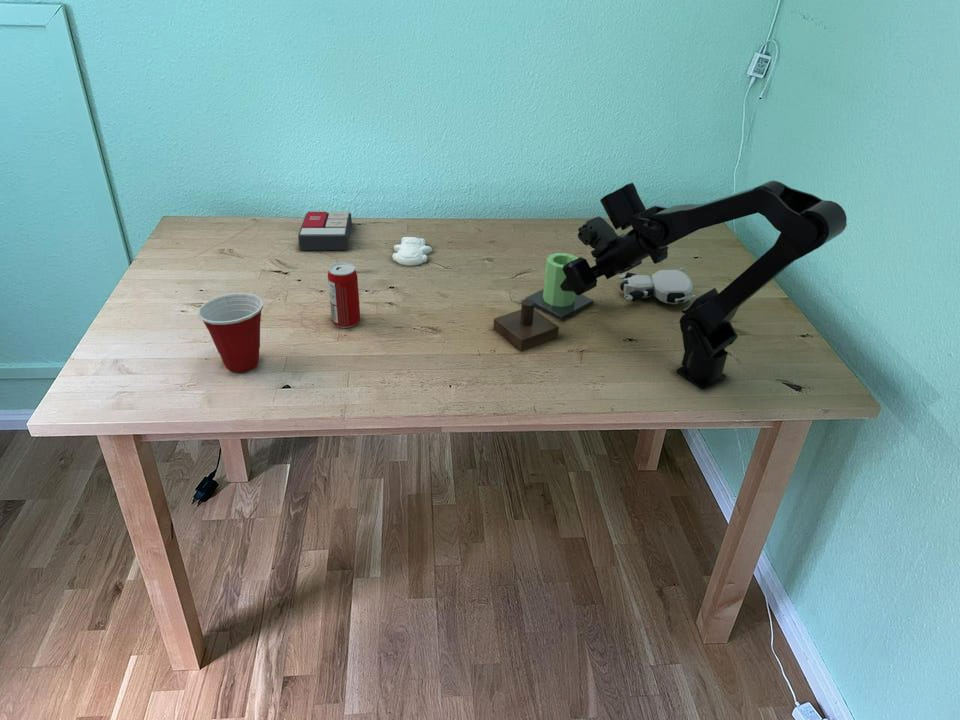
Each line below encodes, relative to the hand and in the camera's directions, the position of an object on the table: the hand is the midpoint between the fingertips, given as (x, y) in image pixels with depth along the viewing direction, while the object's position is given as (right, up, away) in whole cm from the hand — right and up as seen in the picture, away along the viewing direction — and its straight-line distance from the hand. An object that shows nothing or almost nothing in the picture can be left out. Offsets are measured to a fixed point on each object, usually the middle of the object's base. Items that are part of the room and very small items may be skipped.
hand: (576, 280), depth 142 cm
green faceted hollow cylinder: (-3, -3, +6) cm, 7 cm away
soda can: (-46, -8, -3) cm, 46 cm away
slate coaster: (-3, -4, +6) cm, 8 cm away
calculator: (-56, +13, +28) cm, 64 cm away
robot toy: (+18, -2, +10) cm, 21 cm away
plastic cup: (-62, -17, -15) cm, 66 cm away
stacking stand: (-10, -11, -4) cm, 16 cm away
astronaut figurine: (-35, +9, +23) cm, 43 cm away
